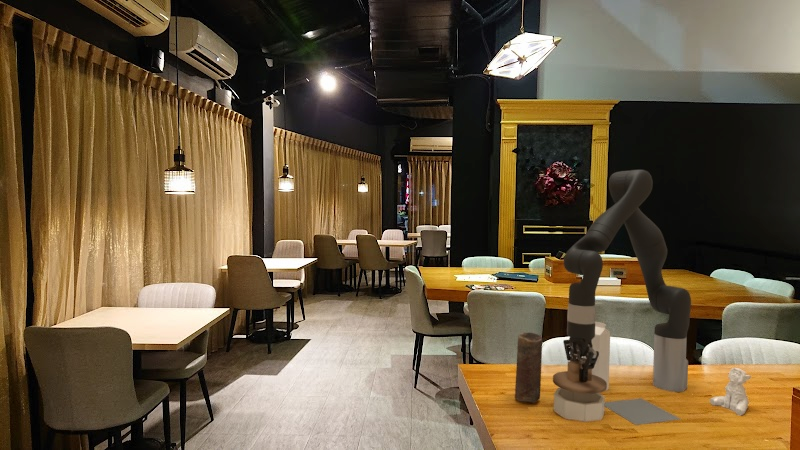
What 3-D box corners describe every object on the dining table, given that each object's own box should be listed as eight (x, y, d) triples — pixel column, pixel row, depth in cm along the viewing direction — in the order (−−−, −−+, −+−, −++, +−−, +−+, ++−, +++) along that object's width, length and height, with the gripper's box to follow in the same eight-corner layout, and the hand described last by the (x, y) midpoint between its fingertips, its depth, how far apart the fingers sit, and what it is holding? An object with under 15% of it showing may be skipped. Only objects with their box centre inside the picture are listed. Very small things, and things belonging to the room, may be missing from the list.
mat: (641, 399, 149) (641, 398, 149) (681, 420, 135) (681, 419, 135) (599, 404, 145) (599, 402, 145) (635, 426, 131) (635, 424, 131)
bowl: (584, 401, 147) (584, 385, 147) (613, 419, 135) (613, 401, 134) (546, 405, 144) (546, 388, 144) (572, 424, 131) (573, 406, 131)
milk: (598, 394, 153) (600, 325, 152) (581, 388, 158) (583, 321, 157) (609, 390, 156) (611, 322, 155) (591, 384, 161) (593, 318, 160)
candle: (541, 397, 149) (543, 333, 149) (540, 407, 143) (541, 339, 142) (516, 394, 152) (517, 331, 151) (513, 403, 145) (515, 337, 144)
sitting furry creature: (708, 404, 146) (709, 364, 146) (726, 399, 150) (728, 361, 149) (740, 416, 138) (742, 374, 137) (759, 411, 141) (761, 371, 141)
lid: (585, 373, 148) (585, 353, 147) (618, 391, 134) (618, 368, 134) (543, 377, 144) (543, 356, 144) (572, 395, 130) (573, 372, 130)
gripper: (609, 325, 132) (607, 387, 133) (577, 313, 146) (575, 370, 147) (585, 326, 130) (583, 389, 131) (555, 315, 144) (554, 372, 145)
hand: (579, 379), depth 139 cm, fingers closed on lid, 3 cm apart
